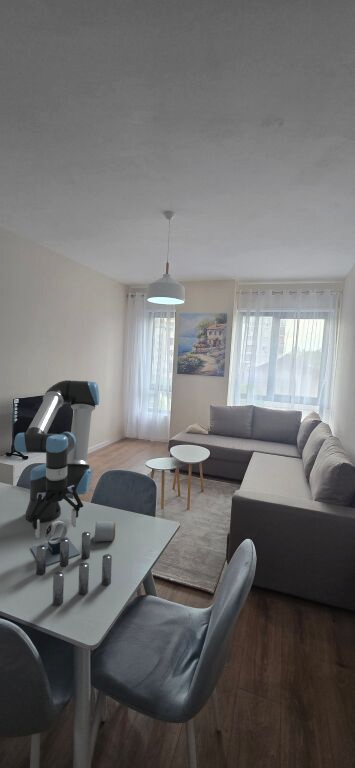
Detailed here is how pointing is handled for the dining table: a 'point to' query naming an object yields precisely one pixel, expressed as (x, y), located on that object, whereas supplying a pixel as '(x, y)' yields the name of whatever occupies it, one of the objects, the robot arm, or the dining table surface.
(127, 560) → the dining table surface
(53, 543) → the watch
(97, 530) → the ceramic mug
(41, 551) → the post field
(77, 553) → the mat
